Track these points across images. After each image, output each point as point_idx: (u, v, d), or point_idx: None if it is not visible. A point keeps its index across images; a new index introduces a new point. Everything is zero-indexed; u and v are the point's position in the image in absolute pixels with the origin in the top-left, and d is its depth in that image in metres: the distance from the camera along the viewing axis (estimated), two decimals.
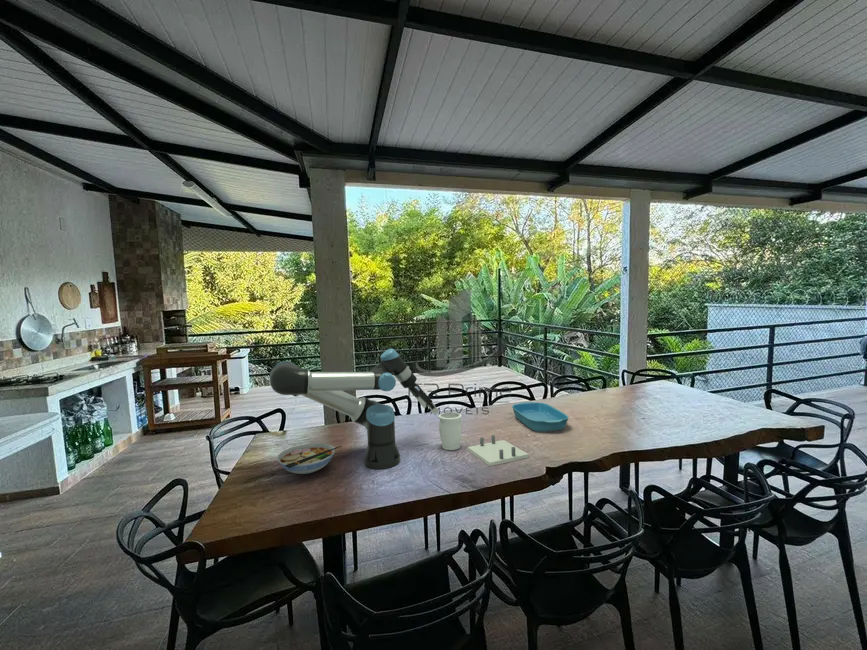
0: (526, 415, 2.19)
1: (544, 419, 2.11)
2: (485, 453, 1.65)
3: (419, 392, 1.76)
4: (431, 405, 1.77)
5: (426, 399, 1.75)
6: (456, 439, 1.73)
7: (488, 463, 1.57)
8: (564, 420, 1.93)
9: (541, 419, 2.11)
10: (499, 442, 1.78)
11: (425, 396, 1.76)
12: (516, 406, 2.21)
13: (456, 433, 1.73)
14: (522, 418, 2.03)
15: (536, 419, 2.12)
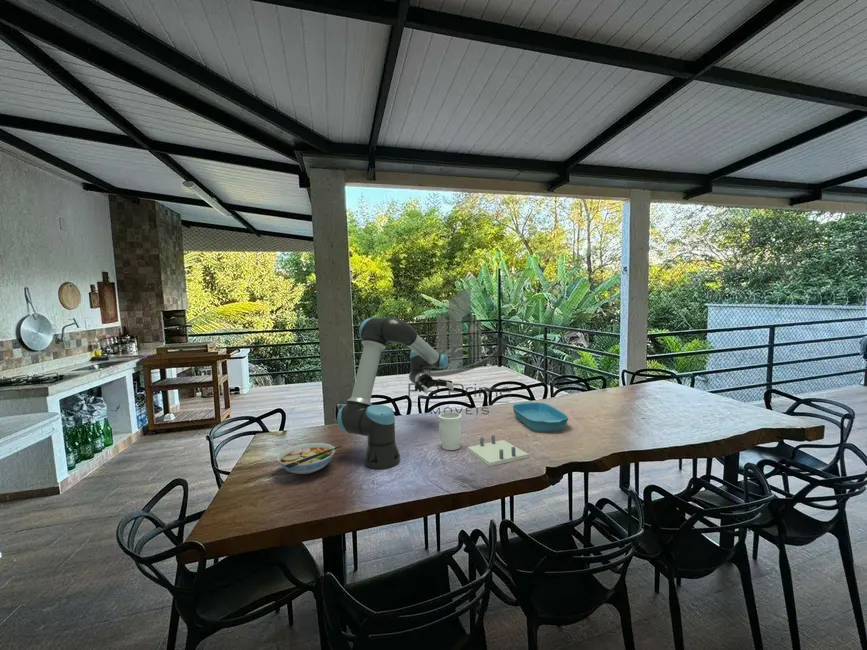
0: (526, 415, 2.19)
1: (545, 419, 2.11)
2: (485, 453, 1.65)
3: None
4: None
5: None
6: (456, 439, 1.73)
7: (488, 463, 1.57)
8: (564, 420, 1.93)
9: (541, 419, 2.11)
10: (499, 442, 1.78)
11: None
12: (516, 406, 2.22)
13: (456, 433, 1.73)
14: (522, 418, 2.04)
15: (536, 419, 2.12)
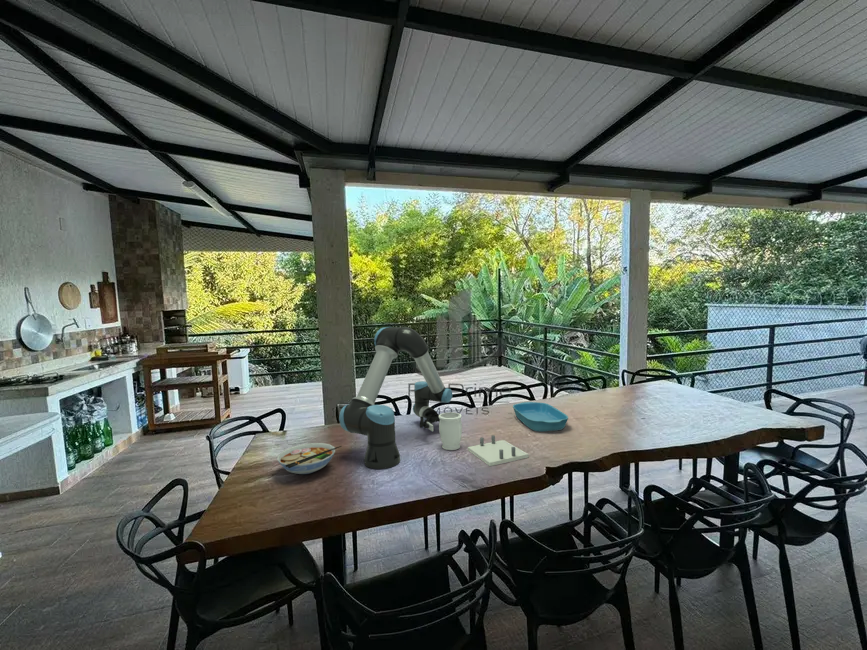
0: (527, 415, 2.19)
1: (545, 419, 2.11)
2: (485, 453, 1.65)
3: None
4: None
5: None
6: (456, 439, 1.73)
7: (488, 463, 1.57)
8: (564, 420, 1.93)
9: (541, 419, 2.11)
10: (499, 442, 1.78)
11: None
12: (517, 406, 2.22)
13: (456, 433, 1.73)
14: (522, 418, 2.04)
15: (536, 419, 2.12)
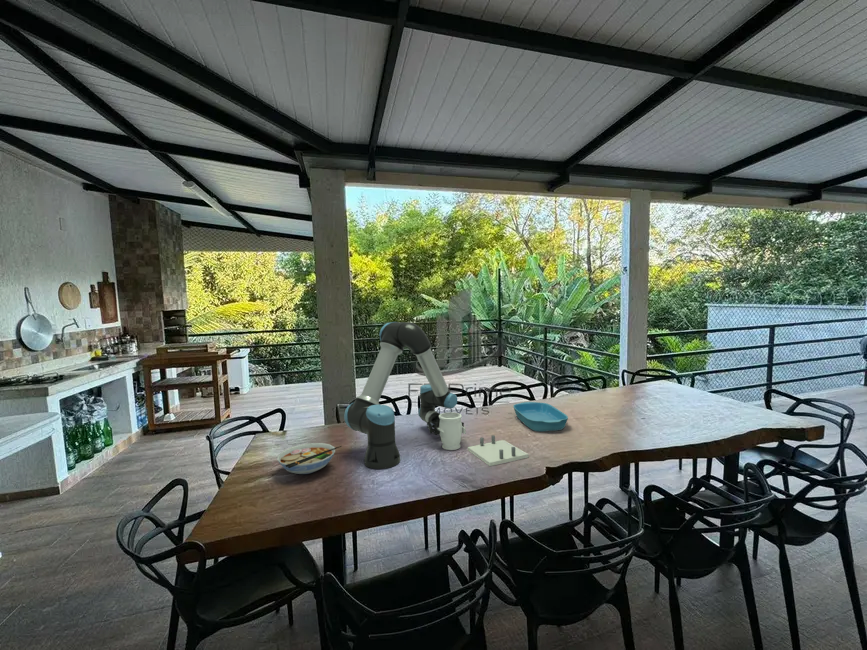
0: (527, 415, 2.19)
1: (545, 419, 2.11)
2: (485, 453, 1.65)
3: None
4: None
5: None
6: (456, 439, 1.73)
7: (488, 463, 1.57)
8: (563, 420, 1.93)
9: (542, 419, 2.11)
10: (499, 442, 1.78)
11: None
12: (517, 406, 2.22)
13: (456, 433, 1.73)
14: (522, 418, 2.04)
15: (537, 419, 2.12)
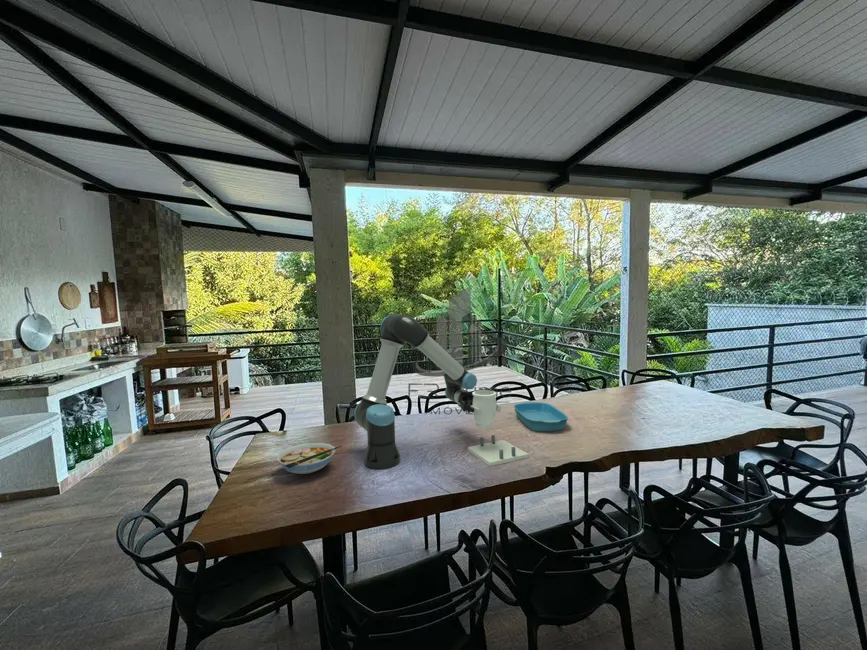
0: (528, 415, 2.19)
1: (546, 419, 2.11)
2: (485, 453, 1.65)
3: None
4: None
5: None
6: (491, 417, 1.68)
7: (488, 463, 1.57)
8: (563, 420, 1.93)
9: (542, 419, 2.11)
10: (499, 442, 1.78)
11: None
12: (518, 406, 2.22)
13: (491, 411, 1.67)
14: (522, 418, 2.04)
15: (537, 419, 2.12)
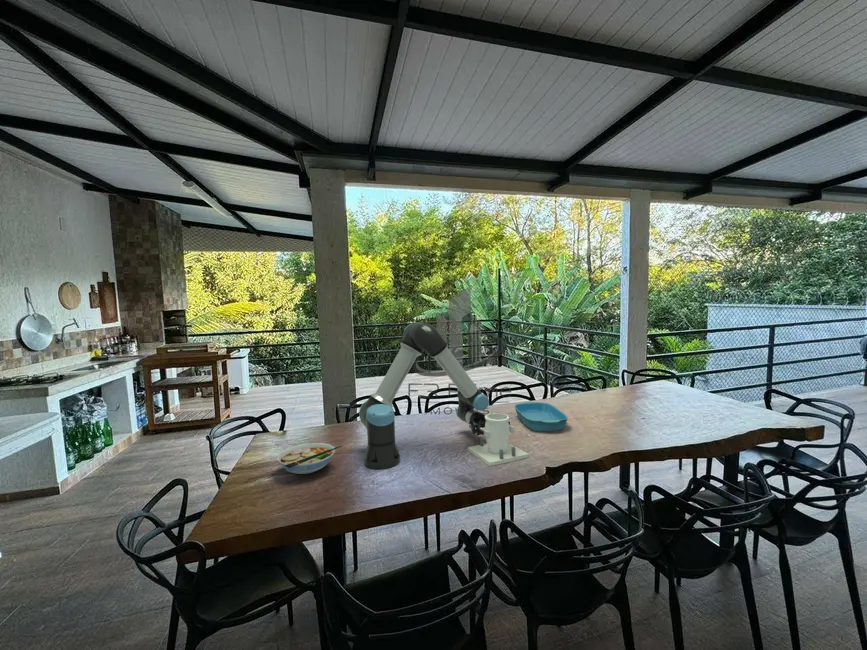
0: (529, 415, 2.19)
1: (546, 419, 2.11)
2: (485, 453, 1.65)
3: None
4: None
5: None
6: (504, 442, 1.64)
7: (488, 463, 1.57)
8: (562, 421, 1.93)
9: (543, 419, 2.11)
10: None
11: None
12: (519, 405, 2.22)
13: (504, 436, 1.63)
14: (522, 417, 2.05)
15: (538, 419, 2.12)
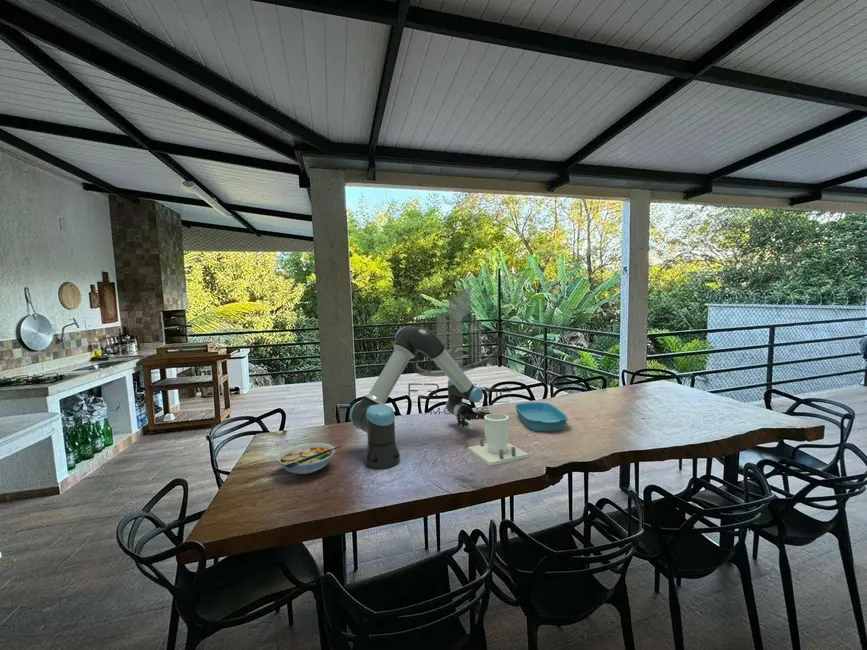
0: (529, 415, 2.19)
1: (547, 419, 2.11)
2: (485, 453, 1.65)
3: None
4: None
5: None
6: (503, 442, 1.64)
7: (488, 463, 1.57)
8: (562, 421, 1.93)
9: (543, 419, 2.11)
10: None
11: None
12: (520, 405, 2.23)
13: (504, 436, 1.63)
14: (522, 417, 2.05)
15: (538, 419, 2.12)
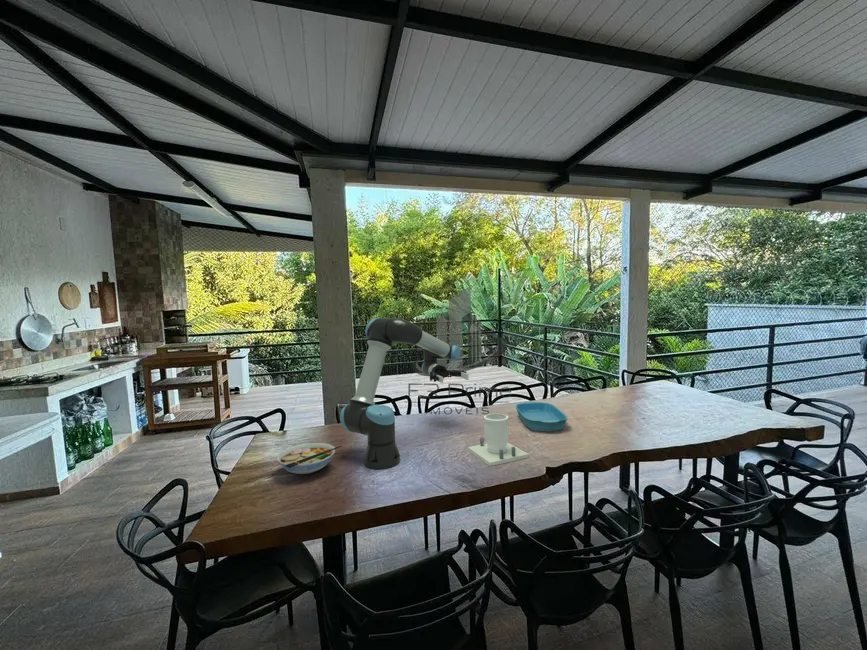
0: (530, 414, 2.19)
1: (547, 419, 2.11)
2: (485, 453, 1.65)
3: None
4: None
5: None
6: (503, 442, 1.64)
7: (488, 463, 1.57)
8: (562, 421, 1.92)
9: (543, 419, 2.11)
10: None
11: None
12: (520, 405, 2.23)
13: (503, 436, 1.63)
14: (522, 417, 2.05)
15: (538, 419, 2.12)
